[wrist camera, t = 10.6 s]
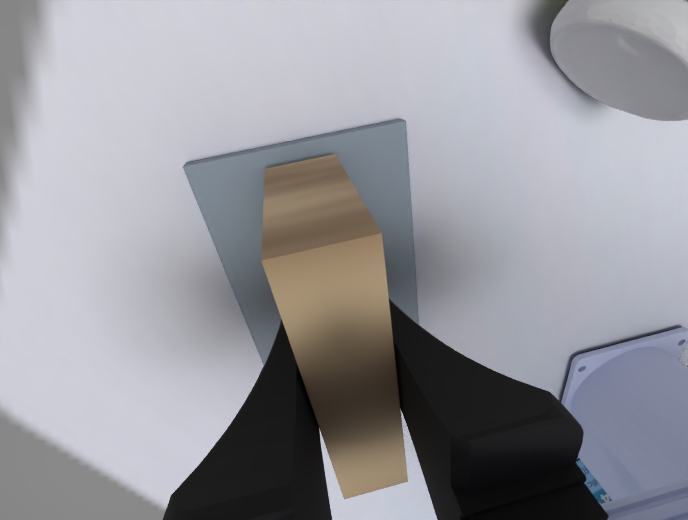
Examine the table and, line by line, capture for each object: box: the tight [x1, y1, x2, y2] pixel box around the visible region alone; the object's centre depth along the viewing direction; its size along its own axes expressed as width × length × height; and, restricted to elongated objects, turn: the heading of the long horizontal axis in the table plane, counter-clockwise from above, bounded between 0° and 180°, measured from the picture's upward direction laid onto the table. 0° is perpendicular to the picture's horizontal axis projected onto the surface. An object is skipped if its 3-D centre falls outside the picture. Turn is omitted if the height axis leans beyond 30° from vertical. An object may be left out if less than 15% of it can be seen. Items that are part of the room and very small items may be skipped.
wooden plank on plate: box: [261, 154, 408, 499], centre depth 12 cm, size 11×2×6 cm, turn 9°
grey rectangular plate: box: [183, 119, 419, 365], centre depth 15 cm, size 12×8×1 cm, turn 9°
